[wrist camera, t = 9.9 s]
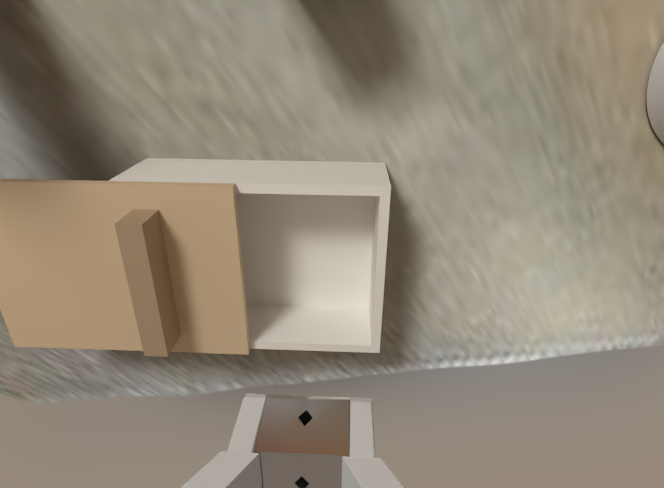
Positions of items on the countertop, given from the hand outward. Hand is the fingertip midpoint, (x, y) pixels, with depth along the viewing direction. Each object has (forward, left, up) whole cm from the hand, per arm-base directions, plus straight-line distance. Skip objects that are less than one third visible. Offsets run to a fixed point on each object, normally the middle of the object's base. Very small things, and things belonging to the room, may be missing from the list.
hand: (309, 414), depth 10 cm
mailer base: (+7, +10, -31) cm, 33 cm away
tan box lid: (+19, +10, -24) cm, 32 cm away
